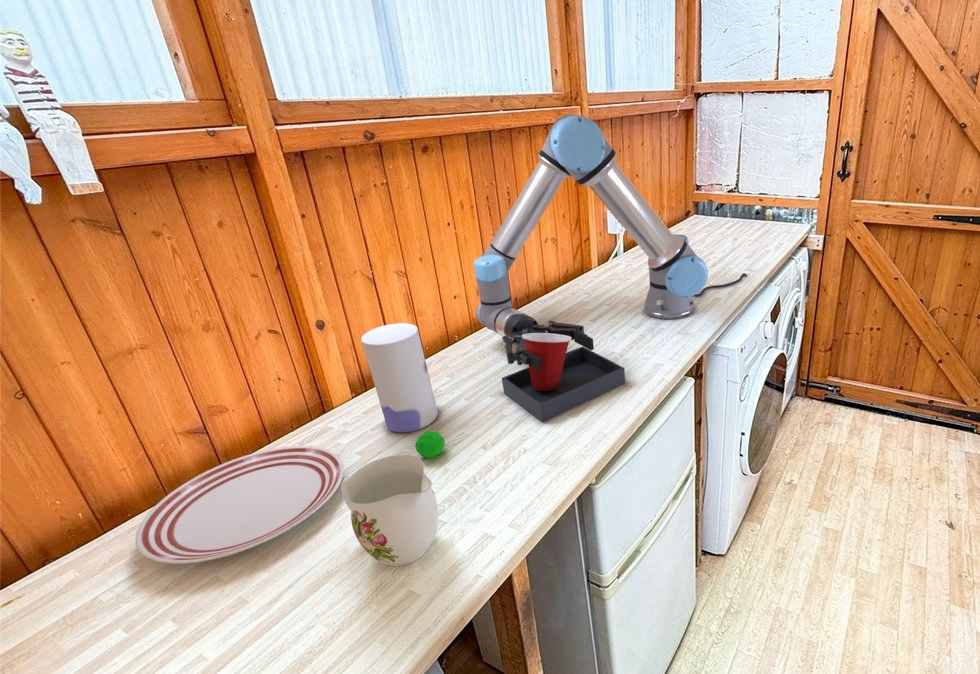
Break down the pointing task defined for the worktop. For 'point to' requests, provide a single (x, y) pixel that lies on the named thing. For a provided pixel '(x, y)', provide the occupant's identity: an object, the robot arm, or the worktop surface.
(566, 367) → the dark grey tray
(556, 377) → the plastic cup
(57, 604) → the worktop surface
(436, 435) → the polyhedron
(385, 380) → the container
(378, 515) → the pitcher
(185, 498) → the dinner plate
